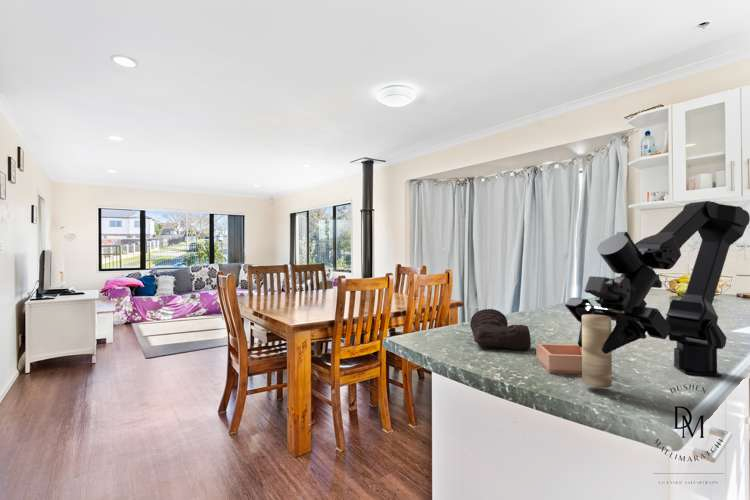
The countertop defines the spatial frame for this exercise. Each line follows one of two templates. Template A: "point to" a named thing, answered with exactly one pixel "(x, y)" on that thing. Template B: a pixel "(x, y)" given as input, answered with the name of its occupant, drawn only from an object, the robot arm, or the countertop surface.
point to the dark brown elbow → (498, 331)
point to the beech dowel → (596, 351)
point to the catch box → (560, 358)
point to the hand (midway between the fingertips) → (591, 348)
